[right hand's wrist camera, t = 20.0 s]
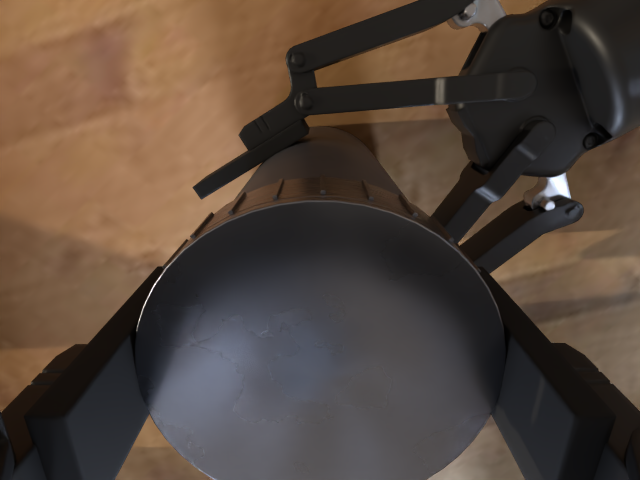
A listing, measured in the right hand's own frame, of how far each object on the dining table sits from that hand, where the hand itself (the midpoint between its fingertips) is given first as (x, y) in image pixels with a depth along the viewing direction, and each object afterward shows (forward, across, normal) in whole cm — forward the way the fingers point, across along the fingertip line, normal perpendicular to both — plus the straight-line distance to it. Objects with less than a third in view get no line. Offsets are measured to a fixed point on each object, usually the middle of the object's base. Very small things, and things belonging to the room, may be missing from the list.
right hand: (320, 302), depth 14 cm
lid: (-4, 0, 0) cm, 4 cm away
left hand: (+10, -4, -2) cm, 11 cm away
